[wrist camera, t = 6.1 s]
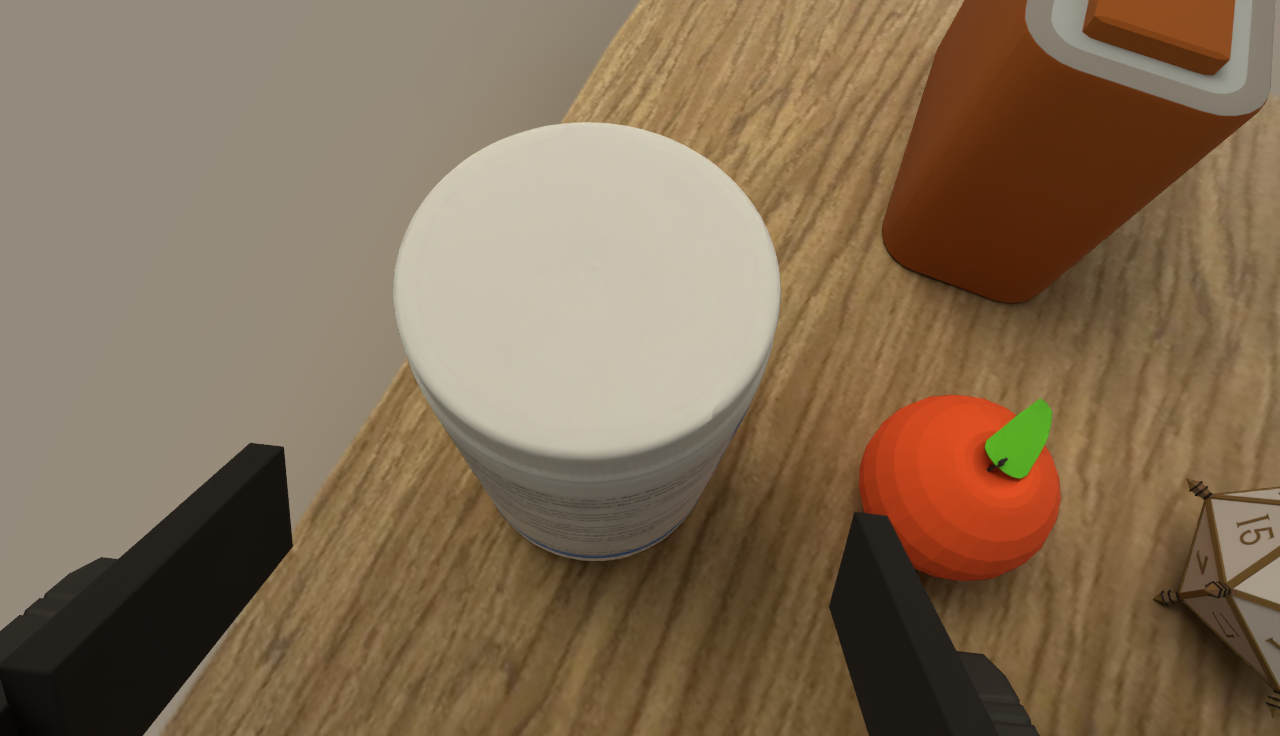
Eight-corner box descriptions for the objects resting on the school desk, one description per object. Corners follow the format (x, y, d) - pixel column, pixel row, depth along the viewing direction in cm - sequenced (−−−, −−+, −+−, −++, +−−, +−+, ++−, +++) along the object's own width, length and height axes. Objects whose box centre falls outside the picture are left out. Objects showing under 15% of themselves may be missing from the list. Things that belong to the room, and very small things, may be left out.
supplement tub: (744, 510, 30) (869, 381, 16) (527, 603, 28) (461, 547, 14) (651, 315, 33) (689, 72, 19) (451, 388, 31) (337, 174, 17)
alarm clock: (1041, 319, 34) (1302, 120, 21) (870, 257, 35) (1026, 29, 22) (1084, 99, 39) (1311, -162, 27) (936, 49, 40) (1090, -226, 28)
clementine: (916, 380, 32) (998, 309, 26) (1042, 491, 31) (1164, 445, 24) (801, 500, 30) (859, 455, 23) (931, 627, 28) (1033, 617, 22)
